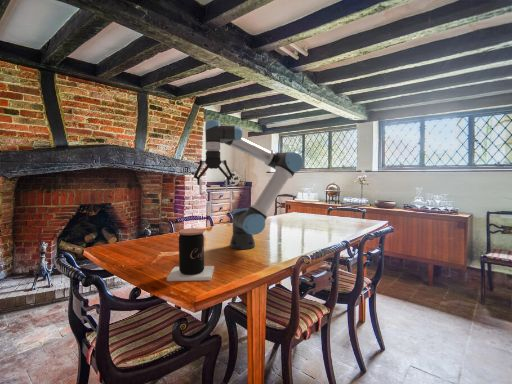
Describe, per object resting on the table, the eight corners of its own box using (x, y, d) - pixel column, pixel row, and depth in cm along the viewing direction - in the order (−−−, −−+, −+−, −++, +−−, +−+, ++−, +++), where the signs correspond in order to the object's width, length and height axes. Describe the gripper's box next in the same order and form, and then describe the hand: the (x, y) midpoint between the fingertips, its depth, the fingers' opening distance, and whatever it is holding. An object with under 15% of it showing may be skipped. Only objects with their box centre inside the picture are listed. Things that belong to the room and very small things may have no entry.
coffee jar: (192, 277, 119) (191, 234, 118) (174, 272, 125) (173, 231, 124) (209, 269, 128) (208, 229, 127) (191, 265, 134) (191, 227, 133)
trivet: (214, 269, 134) (214, 265, 134) (210, 280, 120) (210, 276, 120) (174, 269, 133) (174, 266, 133) (166, 281, 119) (166, 277, 119)
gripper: (187, 150, 147) (188, 192, 148) (236, 150, 148) (237, 191, 149) (190, 151, 154) (190, 191, 156) (237, 151, 156) (237, 190, 157)
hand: (213, 191), depth 153 cm, fingers open, 13 cm apart
